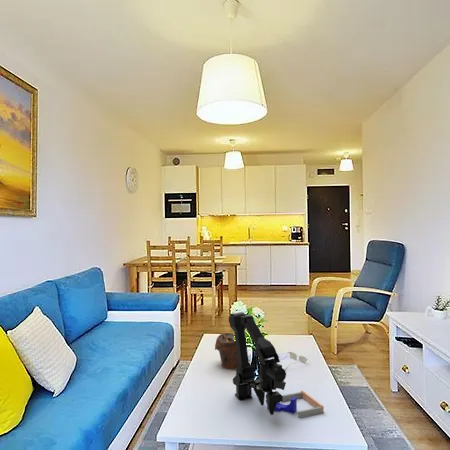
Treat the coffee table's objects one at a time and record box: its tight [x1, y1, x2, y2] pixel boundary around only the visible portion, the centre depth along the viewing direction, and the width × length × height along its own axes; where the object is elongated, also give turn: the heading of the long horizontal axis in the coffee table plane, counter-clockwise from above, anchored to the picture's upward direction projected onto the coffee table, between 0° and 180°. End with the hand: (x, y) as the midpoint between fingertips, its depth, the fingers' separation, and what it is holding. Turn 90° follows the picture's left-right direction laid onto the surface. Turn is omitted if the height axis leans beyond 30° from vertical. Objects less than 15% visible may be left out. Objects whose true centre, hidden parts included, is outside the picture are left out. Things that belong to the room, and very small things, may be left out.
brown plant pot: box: [214, 332, 238, 370], centre depth 232 cm, size 18×20×18 cm
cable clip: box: [266, 397, 298, 414], centre depth 178 cm, size 12×4×6 cm, turn 60°
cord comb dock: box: [280, 389, 325, 419], centre depth 180 cm, size 12×17×3 cm
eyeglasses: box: [271, 351, 308, 371], centre depth 233 cm, size 15×18×4 cm
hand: (266, 409), depth 174 cm, fingers open, 9 cm apart
